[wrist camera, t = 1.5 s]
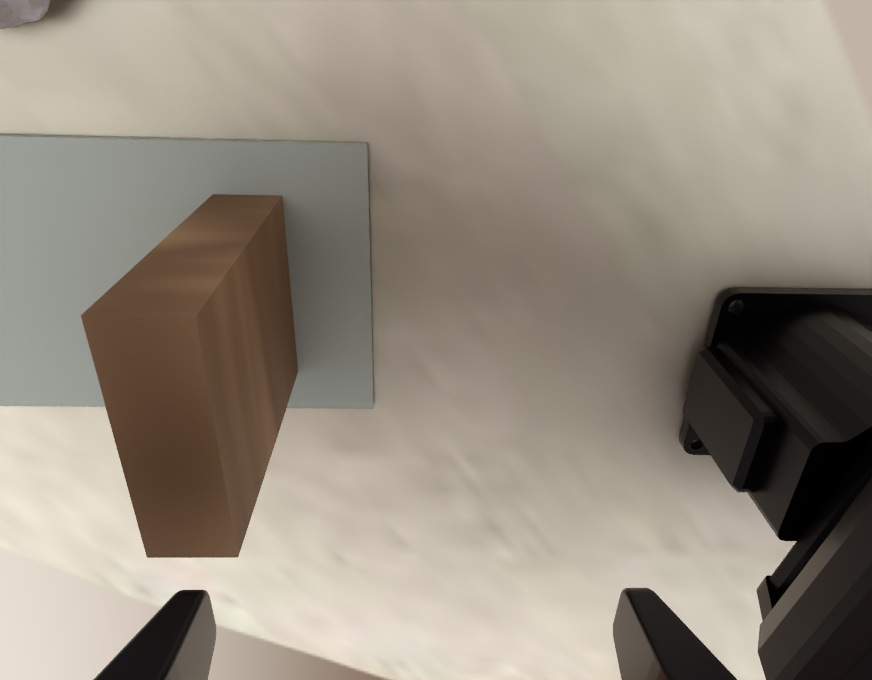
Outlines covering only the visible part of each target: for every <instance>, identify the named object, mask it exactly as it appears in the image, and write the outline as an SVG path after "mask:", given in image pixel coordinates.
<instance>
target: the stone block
mask: <svg viewBox="0 0 872 680" xmlns="http://www.w3.org/2000/svg"><path fill="white" fill-rule="evenodd" d="M49 4H50V0H0V29H4V28H13V27H18V26H20V25H21V24H23V23H26V22H36V21H39V20H40V19H42V18H43V17H44V15H45V14H46V12H47V11H48V9H49Z"/></svg>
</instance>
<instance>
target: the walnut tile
mask: <svg viewBox="0 0 872 680" xmlns="http://www.w3.org/2000/svg"><path fill="white" fill-rule="evenodd" d="M81 319H82V322H83V326H84V330H85V333H86V337H87V340H88V344H89V348H90V351H91V355H92V359H93V362H94V366H95V370H96V373H97V377H98V381H99V384H100V388H101V391H102V395H103V399H104V402H105V406H106V410H107V413H108V417H109V421H110V424H111V428H112V432H113V435H114V439H115V442H116V446H117V450H118V453H119V457H120V461H121V464H122V468H123V472H124V475H125V479H126V482H127V486H128V490H129V493H130V497H131V501H132V504H133V508H134V512H135V515H136V519H137V523H138V526H139V530H140V533H141V537H142V541H143V544H144V548H145V552H146V555H147V557H238V556H239V552H240V549H241V546H242V543H243V540H244V537H245V534H246V531H247V528H248V525H249V522H250V519H251V515H252V512H253V509H254V506H255V503H256V500H257V497H258V494H259V491H260V488H261V485H262V482H263V478H264V475H265V472H266V469H267V466H268V463H269V460H270V457H271V454H272V451H273V448H274V445H275V442H276V438H277V435H278V432H279V429H280V426H281V423H282V420H283V417H284V414H285V411H286V408H287V405H288V401H289V398H290V395H291V392H292V389H293V386H294V383H295V380H296V377H297V374H298V363H297V352H296V341H295V330H294V319H293V308H292V298H291V287H290V276H289V265H288V254H287V243H286V232H285V221H284V210H283V199H282V196H278V195H228V194H212V195H211V196H210V197H209V198H208V199H207V200H206V201H205V202H204V203H203V204H202V205H200V206H199V207H198V208H197V209H196V210H195V211H194V212H193V213H192V214H191V215H190V216H188V217H187V218H186V219H185V220H184V221H183V222H182V223H181V224H180V225H179V226H178V227H176V228H175V229H174V230H173V231H172V232H171V233H170V234H169V235H168V236H167V237H166V238H165V239H163V240H162V241H161V242H160V243H159V244H158V245H157V246H156V247H155V248H154V249H153V250H151V251H150V252H149V253H148V254H147V255H146V256H145V257H144V258H143V259H142V260H141V261H139V262H138V263H137V264H136V265H135V266H134V267H133V268H132V269H131V270H130V271H129V272H127V273H126V274H125V275H124V276H123V277H122V278H121V279H120V280H119V281H118V282H117V283H115V284H114V285H113V286H112V287H111V288H110V289H109V290H108V291H107V292H106V293H105V294H104V295H102V296H101V297H100V298H99V299H98V300H97V301H96V302H95V303H94V304H93V305H92V306H90V307H89V308H88V309H87V310H86V311H85V312H84V313H83V314H82V315H81Z"/></svg>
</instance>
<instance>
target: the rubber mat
mask: <svg viewBox="0 0 872 680" xmlns="http://www.w3.org/2000/svg"><path fill="white" fill-rule="evenodd" d="M212 194H228V195H278V196H282V199H283V210H284V221H285V232H286V243H287V254H288V265H289V276H290V287H291V298H292V308H293V319H294V330H295V341H296V352H297V363H298V374H297V377H296V380H295V383H294V386H293V389H292V392H291V395H290V398H289V401H288V405H287V408H373V407H374V391H373V349H372V308H371V267H370V225H369V184H368V143H364V142H321V141H278V140H235V139H192V138H150V137H107V136H64V135H21V134H0V406H90V407H106V406H105V402H104V399H103V395H102V391H101V388H100V384H99V381H98V377H97V373H96V370H95V366H94V362H93V359H92V355H91V351H90V348H89V344H88V340H87V337H86V333H85V330H84V326H83V322H82V319H81V315H82V314H83V313H84V312H85V311H86V310H87V309H88V308H89V307H90V306H92V305H93V304H94V303H95V302H96V301H97V300H98V299H99V298H100V297H101V296H102V295H104V294H105V293H106V292H107V291H108V290H109V289H110V288H111V287H112V286H113V285H114V284H115V283H117V282H118V281H119V280H120V279H121V278H122V277H123V276H124V275H125V274H126V273H127V272H129V271H130V270H131V269H132V268H133V267H134V266H135V265H136V264H137V263H138V262H139V261H141V260H142V259H143V258H144V257H145V256H146V255H147V254H148V253H149V252H150V251H151V250H153V249H154V248H155V247H156V246H157V245H158V244H159V243H160V242H161V241H162V240H163V239H165V238H166V237H167V236H168V235H169V234H170V233H171V232H172V231H173V230H174V229H175V228H176V227H178V226H179V225H180V224H181V223H182V222H183V221H184V220H185V219H186V218H187V217H188V216H190V215H191V214H192V213H193V212H194V211H195V210H196V209H197V208H198V207H199V206H200V205H202V204H203V203H204V202H205V201H206V200H207V199H208V198H209V197H210V196H211V195H212Z"/></svg>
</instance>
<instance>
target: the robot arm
mask: <svg viewBox="0 0 872 680" xmlns="http://www.w3.org/2000/svg"><path fill="white" fill-rule="evenodd" d="M736 300H739V302H738V304H737V306H735V307H734V308H732V309H729V305H730V304H731V303H732V302H733V301H736ZM683 414H684V415H685V419H684V422H683V426H682V430H681V433H680V439H679V441H680V443H681V445H682V447H683V448H684V450H685V452H687V453H689V454H693V455H711V456H712V458H713V459H714V461H715V462H716V464H717V465H718V467H719V468H720V470H721V471H722V473H723V474H724V476H725V478H726V479H727V481H728V482H729V484H730V485H731V486H732V487H733V488H734V489H735V490H736V491H737V492H747V493H748V494H749V496H750V497H751V498H752V500H753V501H754V503H755V504H756V506H757V507H758V509H759V510H760V512H761V513H762V515H763V516H764V518H765V519H766V520H767V522H768V523H769V525H770V526H771V528H772V529H773V531H774V532H775V534H776V535H777V537H778V538H779V539H780V540H784V541H797V542H796V543H795V544H794V546H793V547H792V549H791V550H790V551H789V553H788V554H787V555H786V557H785V558H784V559H783V561H782V562H781V563H780V565H779V566H778V568H777V569H776V570H775V572H774V573H773V574H772V576H766V577H765V579H764V580H763V581H762V583H761V584H760V585H759V587H758V588H757V594H758V599H759V604H760V609H761V614H762V619H763V622H762V623H761V624H760V631H759V642H758V654H759V657H760V661H761V664H762V667H763V671H764V674H765V677H766V680H872V290H842V289H775V288H731V289H728V290H726V291H724V292H722V293H721V294H720V295H719V296H718V298H717V301H716V303H715V307H714V311H713V314H712V318H711V322H710V326H709V329H708V333H707V337H706V340H705V344H704V348H702V349H701V351H700V352H699V353H698V355H697V358H696V362H695V366H694V370H693V373H692V377H691V381H690V385H689V388H688V392H687V396H686V400H685V404H684V407H683ZM697 438H699V439H698V440H697V441H696V442H693V443H691V442H692V441H693V440H694V439H697ZM613 637H614V643H615V648H616V653H617V658H618V663H619V668H620V673H621V678H622V680H737V679H736V678H735V677H734V676H733V675H732V674H731V673H730V672H729V671H728V670H727V668H726V667H725V666H724V665H723V664H722V663H721V662H720V661H719V660H718V659H717V658H716V657H715V656H714V655H713V654H712V653H711V652H710V650H709V649H708V648H707V647H706V646H705V645H704V644H703V643H702V642H701V641H700V640H699V639H698V638H697V637H696V636H695V635H694V634H693V632H692V631H691V630H690V629H689V628H688V627H687V626H686V625H685V624H684V623H683V622H682V621H681V620H680V619H679V618H678V617H677V616H676V614H675V613H674V612H673V611H672V610H671V609H670V608H669V607H668V606H667V605H666V604H665V603H664V602H663V601H662V600H661V599H660V598H659V596H658V595H657V594H656V593H655V592H654V591H652V590H650V589H648V588H625V589H624V590H623V591H622V592H621V595H620V599H619V603H618V607H617V611H616V615H615V619H614V623H613ZM215 640H216V624H215V619H214V615H213V610H212V605H211V601H210V596H209V594H208V593H207V591H205V590H182V591H179V592H177V593H176V594H175V595H173V596H172V598H171V599H170V600H169V601H168V602H167V603H166V604H165V605H164V606H163V607H162V608H161V609H160V610H159V611H158V612H157V613H156V614H155V615H154V617H153V618H152V619H151V620H150V621H149V622H148V623H147V624H146V625H145V626H144V627H143V628H142V629H141V630H140V631H139V632H138V633H137V634H136V636H135V637H134V638H133V639H132V640H131V641H130V642H129V643H128V644H127V645H126V646H125V647H124V648H123V649H122V650H121V651H120V652H119V653H118V655H117V656H116V657H115V658H114V659H113V660H112V661H111V662H110V663H109V664H108V665H107V666H106V667H105V668H104V669H103V670H102V672H100V673H99V674H98V675H97V677H96V678H95V679H94V680H208V675H209V670H210V665H211V660H212V656H213V651H214V646H215Z"/></svg>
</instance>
